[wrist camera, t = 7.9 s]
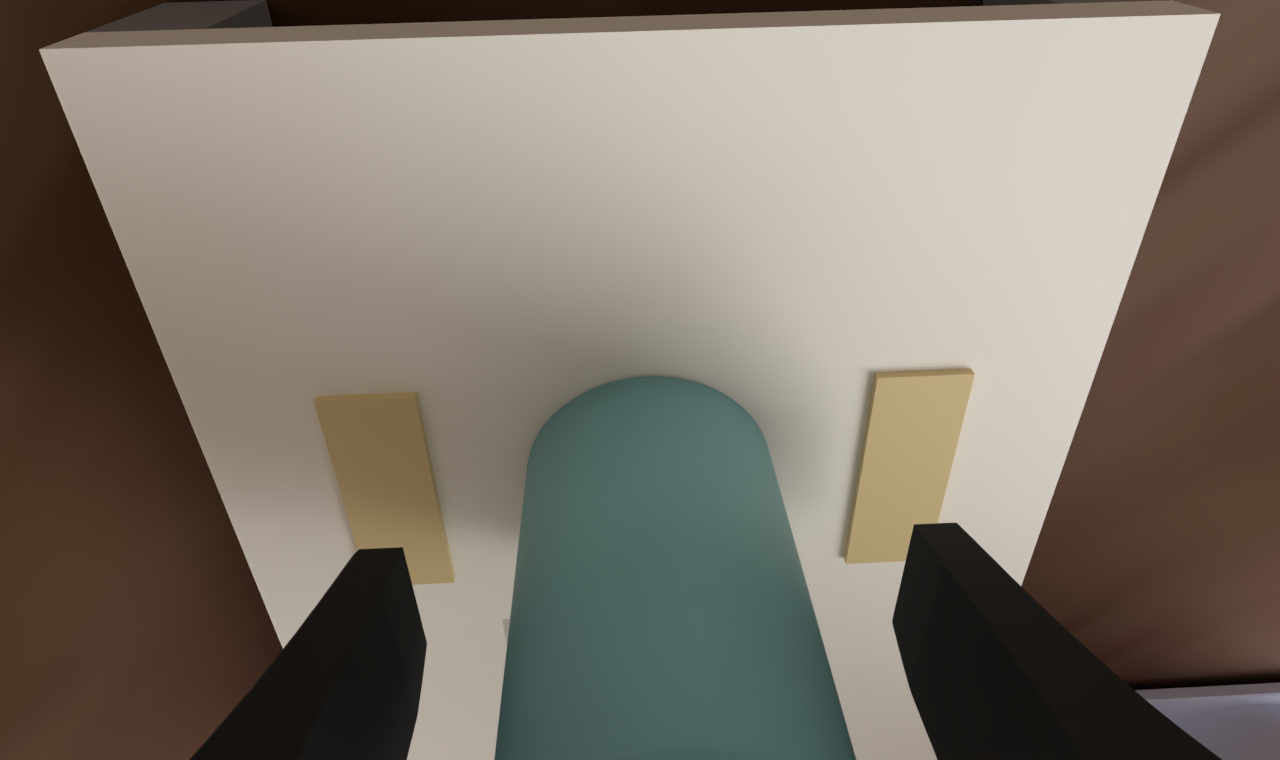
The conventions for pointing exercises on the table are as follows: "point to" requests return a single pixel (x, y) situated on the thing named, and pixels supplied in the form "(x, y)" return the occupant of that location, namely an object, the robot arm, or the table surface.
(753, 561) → the peg
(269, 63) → the board
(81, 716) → the table surface
